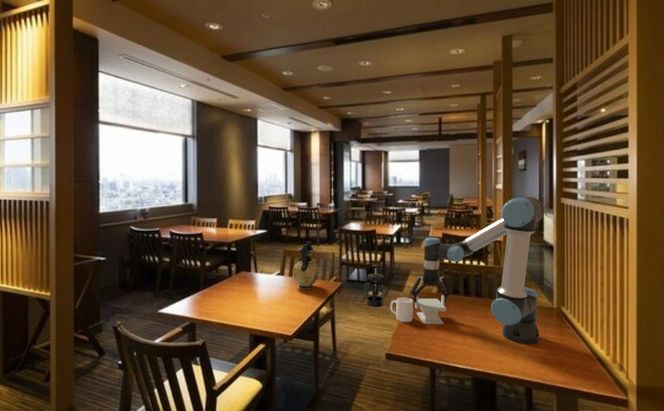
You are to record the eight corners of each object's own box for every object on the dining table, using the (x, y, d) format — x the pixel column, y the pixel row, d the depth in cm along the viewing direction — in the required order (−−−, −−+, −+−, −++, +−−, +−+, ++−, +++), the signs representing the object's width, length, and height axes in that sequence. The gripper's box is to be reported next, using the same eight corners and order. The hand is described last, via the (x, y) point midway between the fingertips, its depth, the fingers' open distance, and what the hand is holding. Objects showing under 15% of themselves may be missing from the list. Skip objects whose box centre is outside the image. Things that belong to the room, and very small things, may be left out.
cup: (409, 323, 177) (409, 304, 176) (386, 318, 184) (387, 299, 183) (414, 318, 184) (415, 299, 183) (393, 313, 191) (393, 295, 190)
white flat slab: (446, 311, 177) (446, 308, 177) (422, 311, 177) (422, 308, 176) (437, 301, 191) (437, 298, 191) (415, 301, 190) (415, 298, 190)
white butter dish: (443, 324, 177) (444, 311, 177) (423, 324, 177) (424, 311, 177) (435, 313, 191) (435, 301, 191) (416, 313, 191) (416, 301, 190)
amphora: (318, 291, 226) (318, 245, 224) (291, 291, 226) (291, 244, 224) (319, 283, 244) (319, 240, 241) (294, 283, 244) (294, 240, 242)
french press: (385, 302, 207) (386, 263, 206) (383, 308, 198) (383, 267, 197) (365, 300, 211) (366, 262, 209) (362, 305, 202) (363, 265, 200)
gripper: (452, 266, 186) (450, 305, 188) (405, 265, 186) (403, 305, 187) (458, 270, 179) (456, 311, 180) (408, 269, 178) (407, 310, 180)
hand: (429, 308), depth 184 cm, fingers open, 13 cm apart
